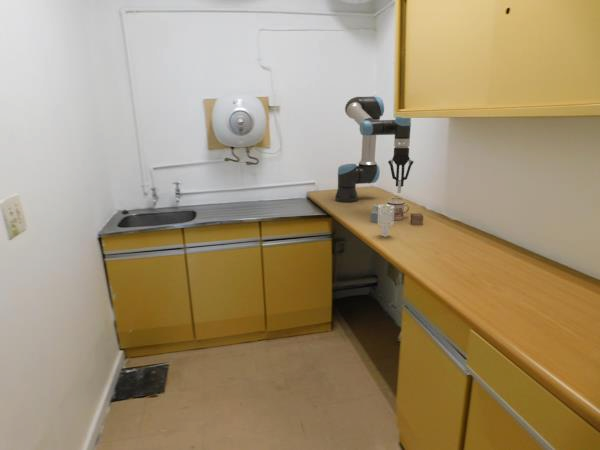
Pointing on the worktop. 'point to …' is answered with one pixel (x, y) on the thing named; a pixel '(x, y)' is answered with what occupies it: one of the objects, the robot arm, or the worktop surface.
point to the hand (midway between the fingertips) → (399, 192)
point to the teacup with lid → (398, 208)
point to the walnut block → (416, 219)
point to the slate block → (374, 217)
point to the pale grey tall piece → (385, 218)
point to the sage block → (376, 207)
